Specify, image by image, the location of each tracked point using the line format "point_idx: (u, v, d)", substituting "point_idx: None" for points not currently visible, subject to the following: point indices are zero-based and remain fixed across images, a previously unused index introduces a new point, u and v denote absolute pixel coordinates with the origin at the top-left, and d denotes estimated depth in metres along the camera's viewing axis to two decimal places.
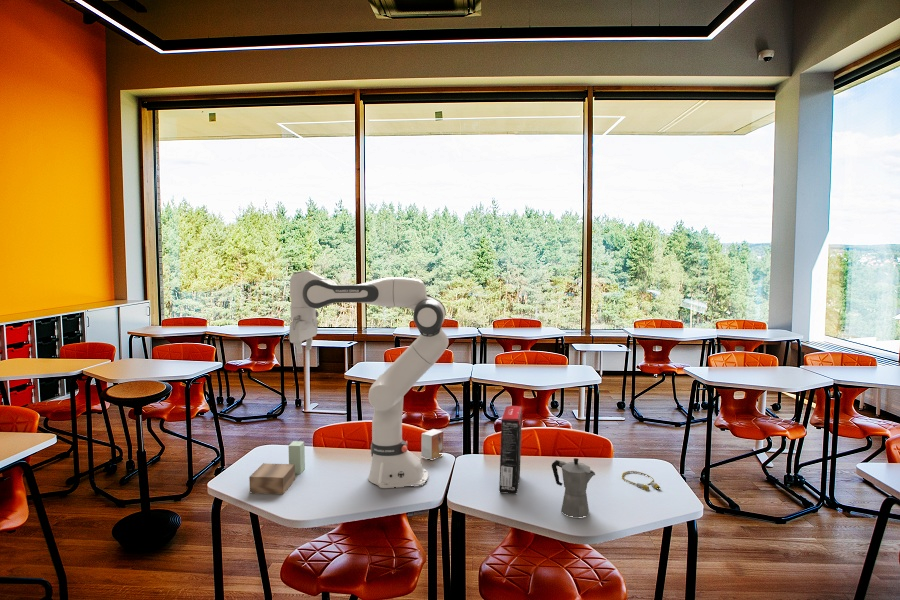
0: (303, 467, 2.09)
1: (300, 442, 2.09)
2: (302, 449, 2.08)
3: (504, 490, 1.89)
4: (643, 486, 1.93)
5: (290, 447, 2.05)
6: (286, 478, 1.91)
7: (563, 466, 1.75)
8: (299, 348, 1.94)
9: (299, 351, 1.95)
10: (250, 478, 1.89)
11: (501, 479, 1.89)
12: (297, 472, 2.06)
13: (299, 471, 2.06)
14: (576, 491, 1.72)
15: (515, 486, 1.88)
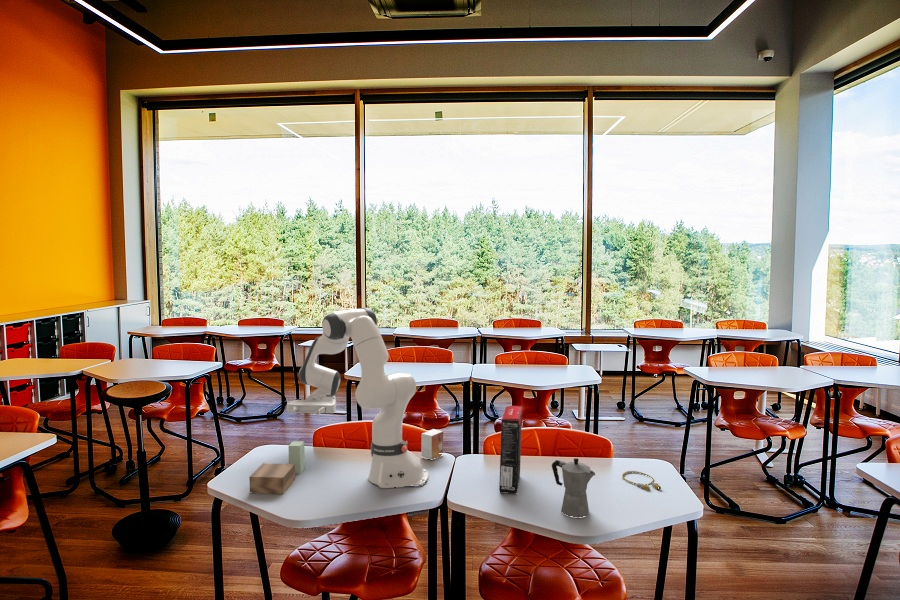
0: (303, 467, 2.09)
1: (300, 442, 2.09)
2: (302, 449, 2.08)
3: (504, 490, 1.89)
4: (644, 486, 1.93)
5: (290, 447, 2.05)
6: (286, 478, 1.91)
7: (563, 466, 1.75)
8: None
9: None
10: (250, 478, 1.89)
11: (501, 479, 1.89)
12: (297, 472, 2.06)
13: (299, 471, 2.06)
14: (576, 491, 1.72)
15: (515, 486, 1.88)
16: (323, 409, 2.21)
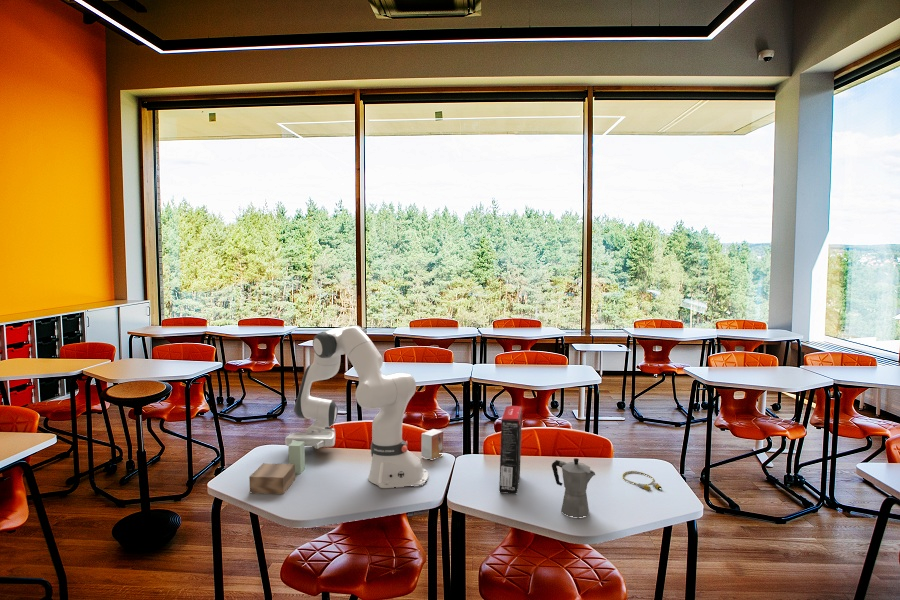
0: (303, 467, 2.09)
1: (300, 442, 2.09)
2: (302, 449, 2.08)
3: (504, 490, 1.89)
4: (644, 486, 1.93)
5: (290, 447, 2.05)
6: (286, 478, 1.91)
7: (563, 466, 1.75)
8: None
9: None
10: (250, 478, 1.89)
11: (501, 479, 1.89)
12: (297, 472, 2.06)
13: (299, 471, 2.06)
14: (576, 491, 1.72)
15: (515, 486, 1.88)
16: (322, 443, 2.20)
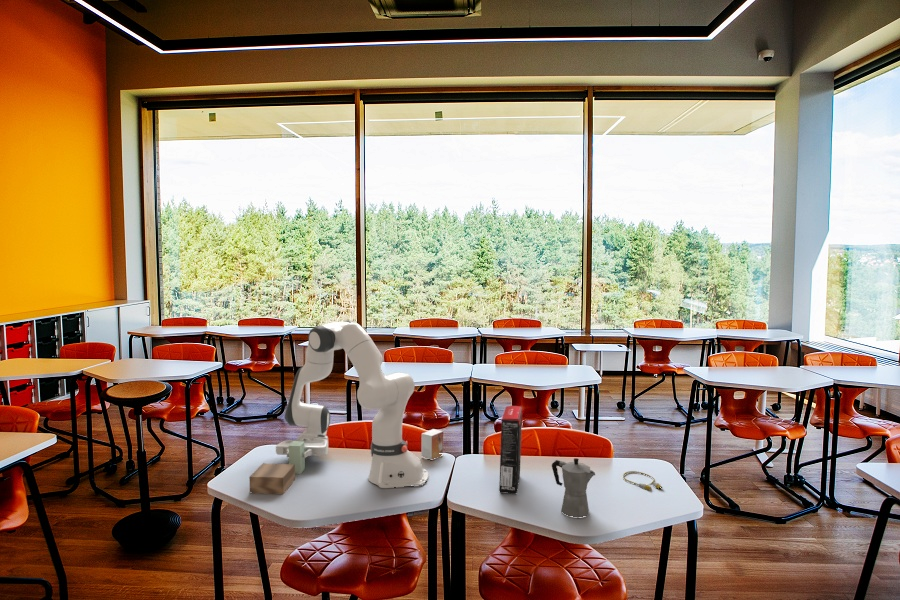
0: (303, 467, 2.09)
1: (300, 442, 2.09)
2: (302, 449, 2.08)
3: (504, 490, 1.89)
4: (645, 486, 1.93)
5: (290, 447, 2.05)
6: (286, 478, 1.91)
7: (563, 466, 1.75)
8: None
9: None
10: (250, 478, 1.89)
11: (501, 479, 1.89)
12: (297, 472, 2.06)
13: (299, 471, 2.06)
14: (576, 491, 1.72)
15: (515, 486, 1.88)
16: (310, 451, 2.10)
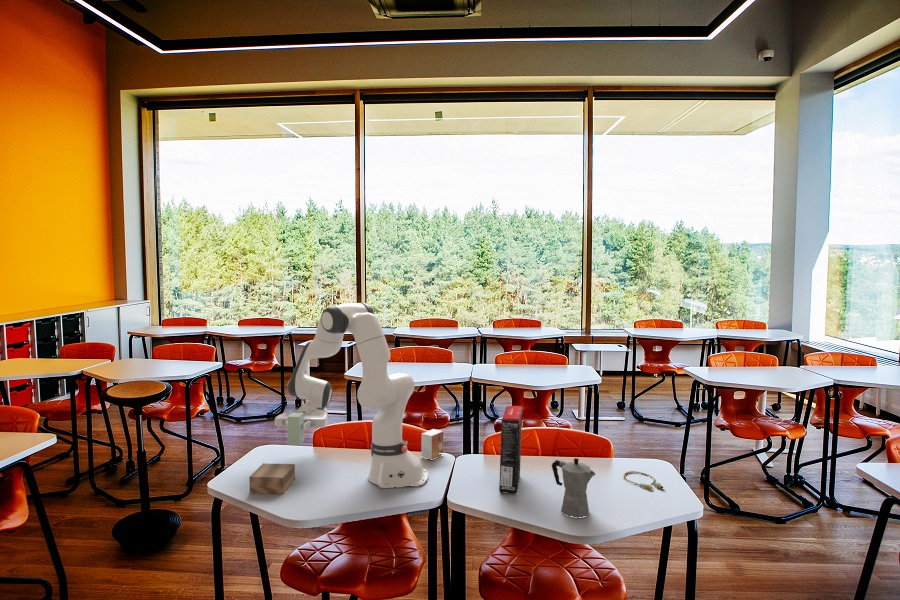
0: (302, 439, 2.08)
1: (299, 413, 2.07)
2: (301, 421, 2.07)
3: (504, 490, 1.89)
4: (646, 486, 1.93)
5: (289, 418, 2.04)
6: (286, 478, 1.91)
7: (563, 466, 1.75)
8: (286, 424, 2.08)
9: None
10: (250, 478, 1.89)
11: (501, 479, 1.89)
12: (296, 443, 2.05)
13: (298, 442, 2.04)
14: (576, 491, 1.72)
15: (515, 486, 1.88)
16: (309, 423, 2.09)
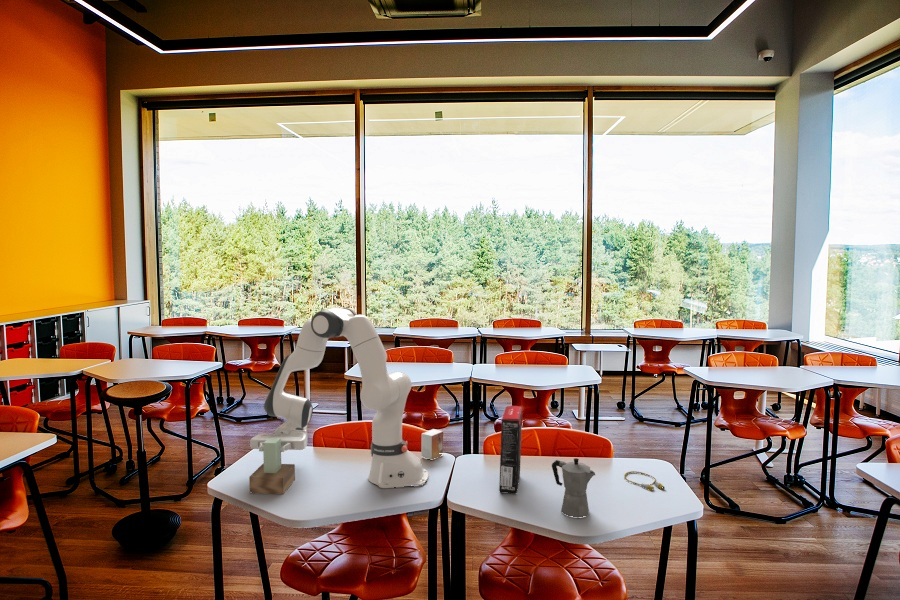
0: (279, 466, 1.95)
1: (276, 439, 1.94)
2: (278, 447, 1.94)
3: (504, 490, 1.89)
4: (648, 487, 1.93)
5: (265, 444, 1.91)
6: (286, 478, 1.91)
7: (563, 466, 1.75)
8: None
9: None
10: (250, 478, 1.89)
11: (501, 479, 1.89)
12: (272, 471, 1.92)
13: (275, 470, 1.91)
14: (576, 491, 1.72)
15: (515, 486, 1.88)
16: (288, 445, 1.95)
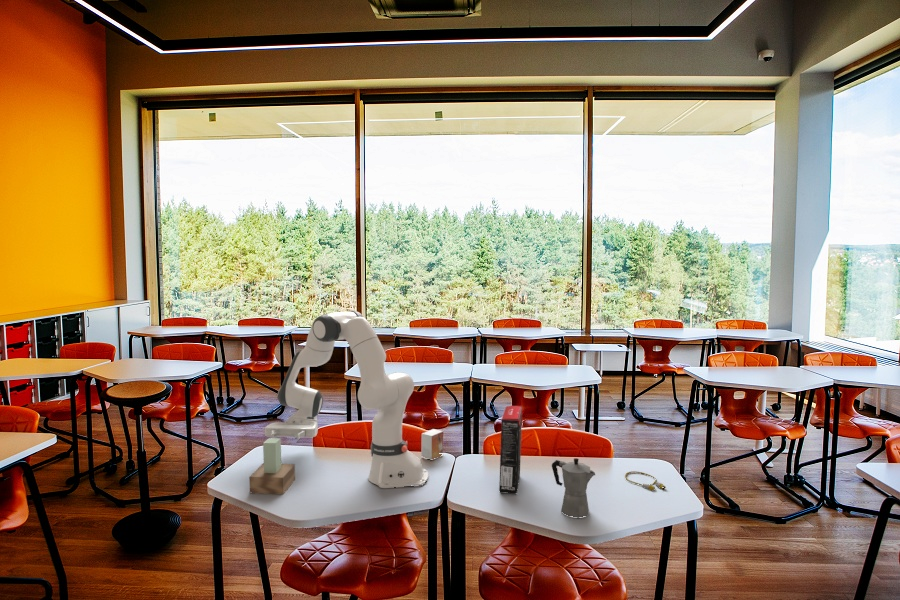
0: (279, 466, 1.95)
1: (276, 439, 1.94)
2: (278, 447, 1.94)
3: (504, 490, 1.89)
4: (649, 486, 1.93)
5: (265, 444, 1.91)
6: (286, 478, 1.91)
7: (563, 466, 1.75)
8: None
9: None
10: (250, 478, 1.89)
11: (501, 479, 1.89)
12: (272, 471, 1.92)
13: (275, 470, 1.91)
14: (576, 491, 1.72)
15: (515, 486, 1.88)
16: (303, 433, 2.09)
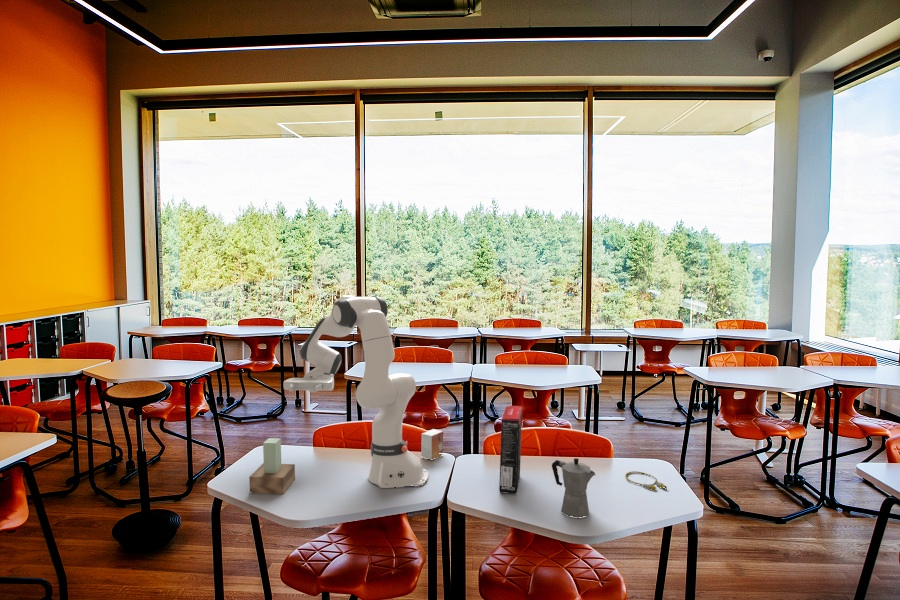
0: (279, 466, 1.95)
1: (276, 439, 1.94)
2: (278, 447, 1.94)
3: (504, 490, 1.89)
4: (650, 487, 1.93)
5: (265, 444, 1.91)
6: (286, 478, 1.91)
7: (563, 466, 1.75)
8: None
9: None
10: (250, 478, 1.89)
11: (501, 479, 1.89)
12: (272, 471, 1.92)
13: (275, 470, 1.91)
14: (576, 491, 1.72)
15: (515, 486, 1.88)
16: (320, 386, 2.18)
